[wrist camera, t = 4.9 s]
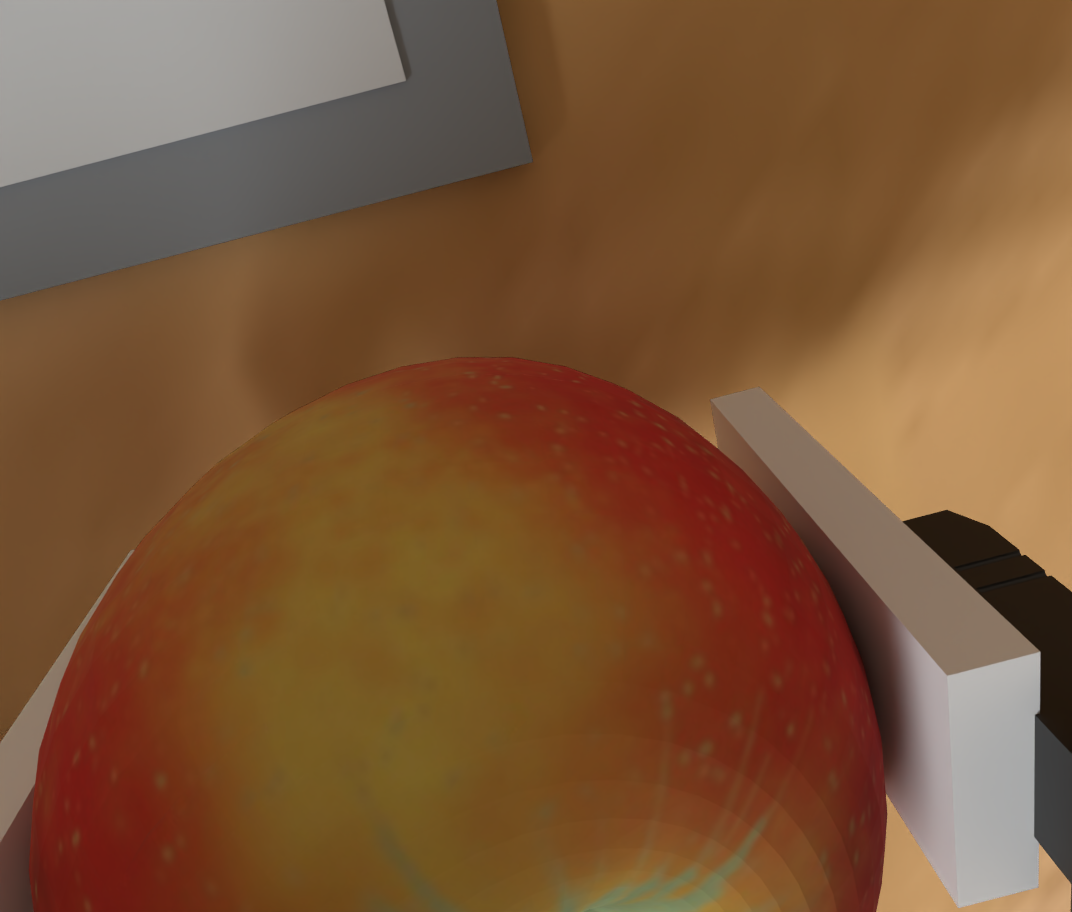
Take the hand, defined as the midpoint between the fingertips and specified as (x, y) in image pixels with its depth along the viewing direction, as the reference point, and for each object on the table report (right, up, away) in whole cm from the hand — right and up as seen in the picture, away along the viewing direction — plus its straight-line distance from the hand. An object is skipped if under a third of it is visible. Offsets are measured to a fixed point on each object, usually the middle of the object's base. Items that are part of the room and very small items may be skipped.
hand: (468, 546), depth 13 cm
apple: (0, 0, 0) cm, 1 cm away
